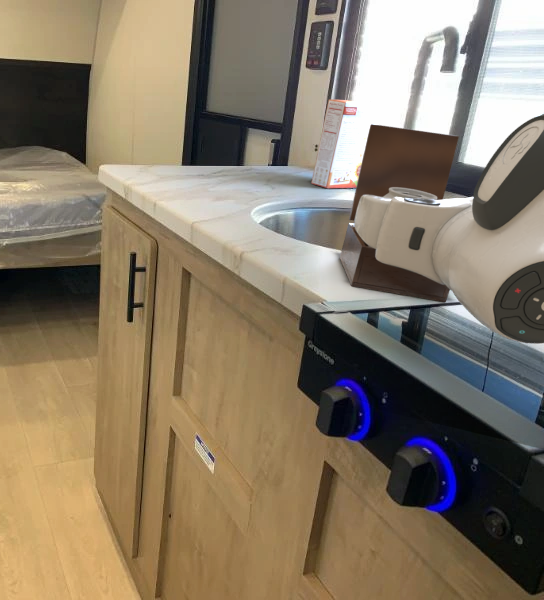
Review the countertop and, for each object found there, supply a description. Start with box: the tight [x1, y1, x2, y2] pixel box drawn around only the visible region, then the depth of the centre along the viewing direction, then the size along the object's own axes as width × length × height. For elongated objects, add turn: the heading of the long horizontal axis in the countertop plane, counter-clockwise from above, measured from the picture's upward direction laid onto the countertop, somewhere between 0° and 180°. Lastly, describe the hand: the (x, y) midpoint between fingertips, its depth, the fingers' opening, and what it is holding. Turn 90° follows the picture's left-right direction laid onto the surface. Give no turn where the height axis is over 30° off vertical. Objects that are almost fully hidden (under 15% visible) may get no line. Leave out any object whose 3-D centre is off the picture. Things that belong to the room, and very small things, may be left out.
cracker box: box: [310, 98, 384, 189], centre depth 150 cm, size 14×6×21 cm, turn 122°
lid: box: [348, 124, 460, 222], centre depth 90 cm, size 14×12×5 cm
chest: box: [339, 222, 451, 303], centre depth 84 cm, size 13×12×6 cm
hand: (437, 213), depth 70 cm, fingers open, 8 cm apart
